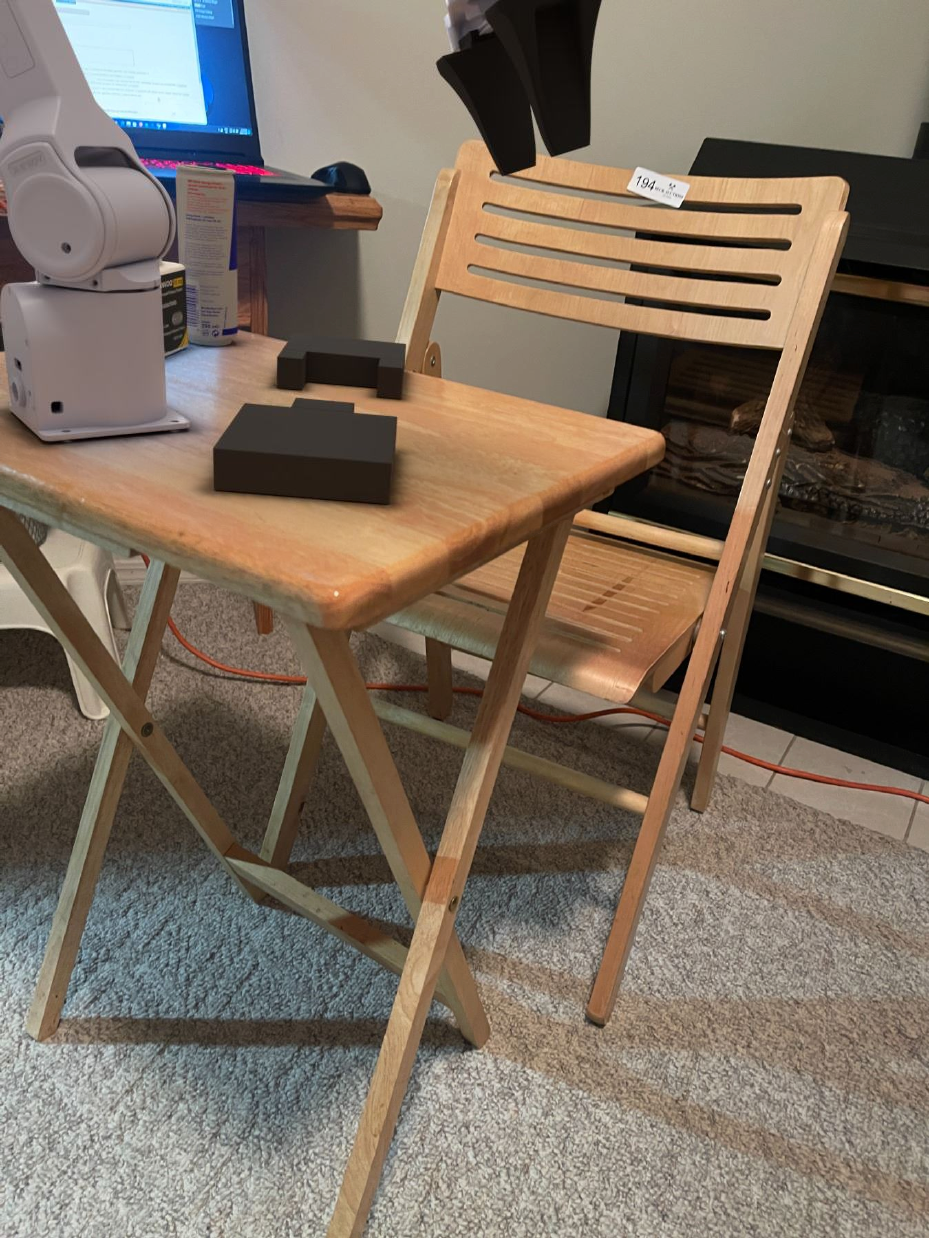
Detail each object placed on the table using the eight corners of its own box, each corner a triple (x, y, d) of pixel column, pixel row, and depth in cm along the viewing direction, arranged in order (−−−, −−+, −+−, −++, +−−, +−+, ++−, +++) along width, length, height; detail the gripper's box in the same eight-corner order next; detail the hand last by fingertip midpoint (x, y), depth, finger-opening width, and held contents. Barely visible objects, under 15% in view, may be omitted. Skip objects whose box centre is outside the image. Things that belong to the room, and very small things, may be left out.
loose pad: (389, 504, 54) (391, 463, 53) (213, 490, 53) (212, 447, 52) (396, 442, 65) (398, 406, 64) (251, 429, 64) (250, 393, 63)
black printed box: (153, 363, 78) (145, 207, 73) (73, 351, 79) (59, 197, 74) (189, 347, 85) (184, 203, 79) (115, 337, 85) (105, 194, 80)
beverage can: (245, 340, 90) (243, 167, 83) (227, 349, 86) (225, 168, 79) (193, 333, 90) (187, 161, 83) (173, 343, 86) (165, 162, 79)
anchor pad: (401, 399, 76) (403, 368, 75) (276, 388, 75) (276, 356, 74) (404, 371, 85) (406, 343, 84) (293, 361, 84) (293, 333, 83)
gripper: (610, -217, 41) (670, 118, 46) (500, -89, 54) (556, 161, 59) (464, -183, 40) (543, 158, 45) (387, -61, 53) (455, 192, 58)
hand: (543, 162), depth 52 cm, fingers open, 7 cm apart
